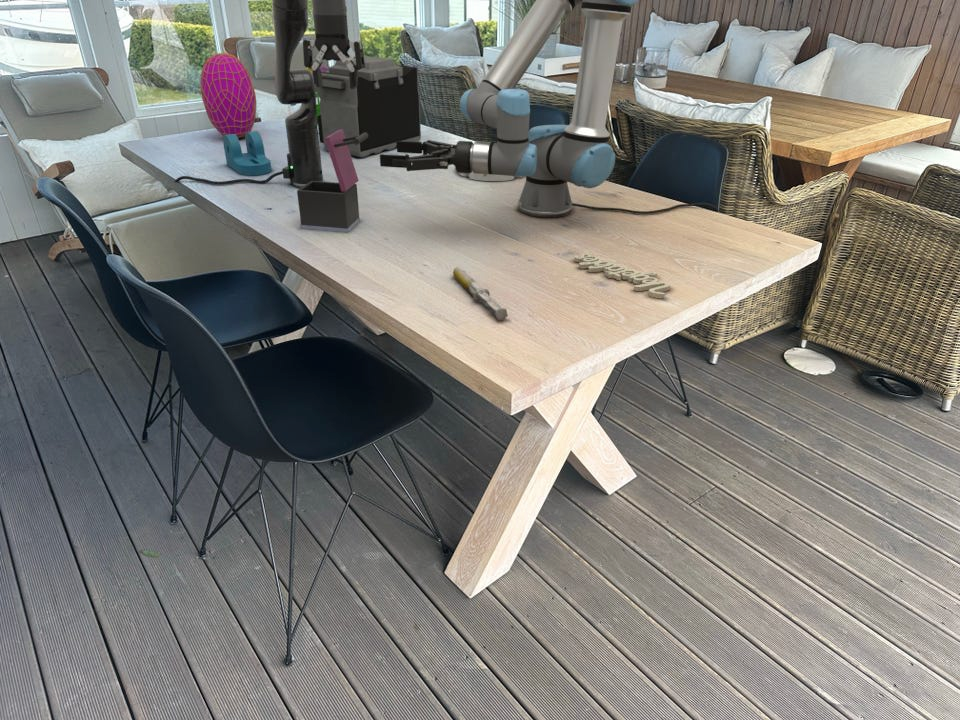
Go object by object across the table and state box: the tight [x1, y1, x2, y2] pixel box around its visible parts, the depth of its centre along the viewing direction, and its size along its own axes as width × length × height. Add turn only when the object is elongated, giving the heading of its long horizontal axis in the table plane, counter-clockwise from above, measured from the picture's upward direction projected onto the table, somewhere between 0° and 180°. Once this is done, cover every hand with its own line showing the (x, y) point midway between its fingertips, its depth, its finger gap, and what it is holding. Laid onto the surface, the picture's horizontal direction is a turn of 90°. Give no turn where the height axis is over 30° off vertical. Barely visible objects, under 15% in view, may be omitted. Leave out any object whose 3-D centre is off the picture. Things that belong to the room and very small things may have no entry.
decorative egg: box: [200, 52, 257, 139], centre depth 259 cm, size 19×19×30 cm
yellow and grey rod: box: [452, 266, 509, 321], centre depth 145 cm, size 25×4×3 cm, turn 21°
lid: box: [325, 129, 368, 192], centre depth 172 cm, size 13×9×8 cm
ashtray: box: [457, 171, 524, 182], centre depth 228 cm, size 23×23×4 cm
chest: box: [296, 181, 361, 233], centre depth 180 cm, size 13×9×10 cm
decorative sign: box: [574, 252, 671, 299], centre depth 155 cm, size 26×1×10 cm
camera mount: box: [222, 131, 272, 176], centre depth 226 cm, size 18×10×10 cm, turn 35°
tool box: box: [311, 55, 422, 159], centre depth 250 cm, size 37×22×30 cm, turn 144°
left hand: (336, 87), depth 165 cm, fingers open, 8 cm apart
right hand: (388, 153), depth 170 cm, fingers open, 13 cm apart
